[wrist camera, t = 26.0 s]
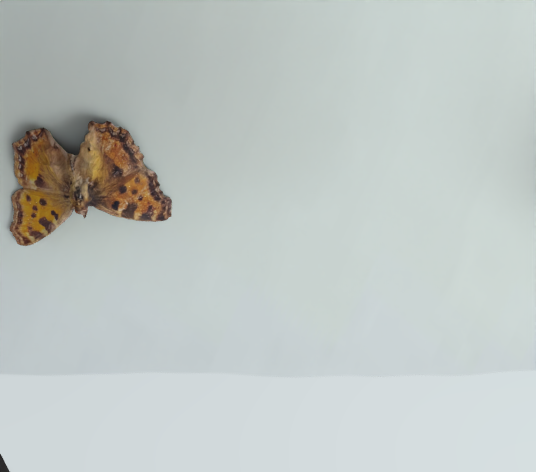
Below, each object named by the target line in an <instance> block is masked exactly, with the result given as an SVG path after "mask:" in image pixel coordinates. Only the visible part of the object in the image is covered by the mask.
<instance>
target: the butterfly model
mask: <svg viewBox="0 0 536 472" xmlns="http://www.w3.org/2000/svg"><path fill="white" fill-rule="evenodd" d="M88 130H89V133H88V134H87V135H85V139H84V140H85V142H83V143H81V145H80V152H79V154H78V155H73V154H70V153H67V152H66V151H65V150H64V149H63V148H62V147H61V146H60V145H59V144H58V143H57V142H56V141H55V140H54V138H53V137H52V135H51V133H50V131H48V130H46V129H45V128H39V129H34V130H31V131H27V132H26V134H25V137H24V138H22V139H20V140H18V141H17V142H15V143H13V144H12V145H13V148H14V153H15V155H14V162H15V164H14V172H15V176H16V178H17V179H18V183H19V184H20V185H21V186H23V189H19V190H17V191H16V192H15V193H14V194H13V195H12V197H11V199H12V203H13V208H14V215H13V220H14V221H13V222H12V223H11V226H10V231H11V232H12V234H13V236H14V237H15V238H16V241H17V244H19V245H23V246H27V245H31V244H34V243H36V242H38V241H39V240H41V239H43V238H44V237H46V236H48V235H49V234H51V232H53V231H54V230H55V229H56V228H57V227H58V226H60V225H61V224H62V223H63V222H65V220H66V219H67V218H68V217H69V216H70V215H71V214H72V212H73V209H75V212H76V213H78V214H81V215H83V217H84V218H85V217H86V214H87V211H88V206H94V207H95V208H97V209H99V210H102V211H104V212H106V213H108V214H111V215H113V216H116V217H122V218H127V219H132V220H136V221H153V222H156V221H164V220H167V219H168V218H169V217H171V213H172V201H171V199H170V197H165V196H164V195H163V192H162V191H161V190H160V189H159V186H160V184H159V183H158V181H157V175H156V173H155V172H154V171H151V170H149V169H147V168H146V167H145V165H144V164H143V158H144V156H143V154H142V153H140V151H139V146H136V145H135V144H134V141H133V139H132V137H131V135H130V133H129V132H128V131H127V130H125V129H123V128H122V127H116V126H115V125H113V124H112V123H111V122H109V121H106V122H105V123H103V124H100V123H97V122H94V121H91V122H89V124H88ZM43 138H44V139H43ZM107 149H109V150H107ZM38 150H40V151H38ZM139 160H141V161H139ZM141 167H142V168H141ZM138 179H139V180H138ZM129 186H130V187H129ZM156 195H157V196H156ZM145 196H146V197H145ZM36 202H37V203H36ZM30 203H31V204H30ZM41 203H42V204H41ZM34 204H35V205H34ZM18 211H19V212H18ZM36 213H37V214H36ZM115 214H116V215H115ZM32 218H33V219H32Z"/></svg>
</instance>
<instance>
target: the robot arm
mask: <svg viewBox="0 0 536 472" xmlns="http://www.w3.org/2000/svg"><path fill="white" fill-rule="evenodd" d="M0 472H9V470H8V468H7V466H6V464H5V462H4V460H3V458H2V456H1V454H0Z"/></svg>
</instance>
